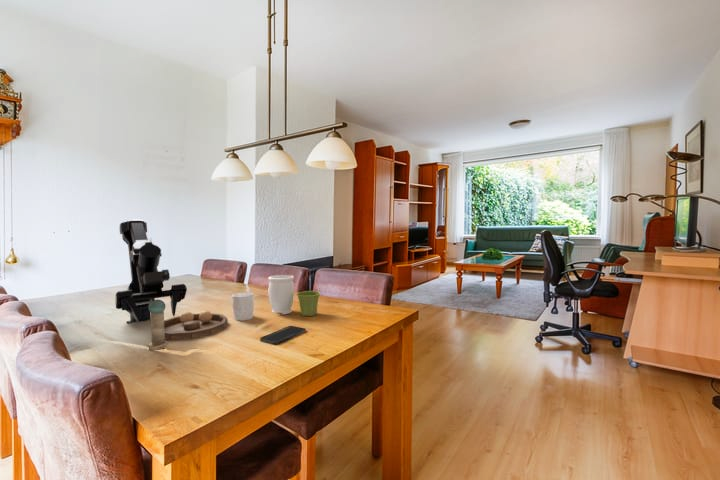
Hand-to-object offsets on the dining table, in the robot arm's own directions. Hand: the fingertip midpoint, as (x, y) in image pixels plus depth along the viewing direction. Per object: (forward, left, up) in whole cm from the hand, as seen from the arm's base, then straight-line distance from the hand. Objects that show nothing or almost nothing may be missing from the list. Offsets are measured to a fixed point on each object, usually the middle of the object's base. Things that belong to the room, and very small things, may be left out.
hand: (157, 318), depth 101 cm
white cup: (+7, +31, -9) cm, 33 cm away
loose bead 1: (-7, +18, -8) cm, 21 cm away
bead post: (0, 0, -9) cm, 9 cm away
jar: (+15, +45, -9) cm, 48 cm away
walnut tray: (-2, +15, -9) cm, 17 cm away
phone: (+31, +21, -9) cm, 39 cm away
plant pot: (+27, +46, -9) cm, 54 cm away
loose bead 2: (-2, +21, -8) cm, 22 cm away
